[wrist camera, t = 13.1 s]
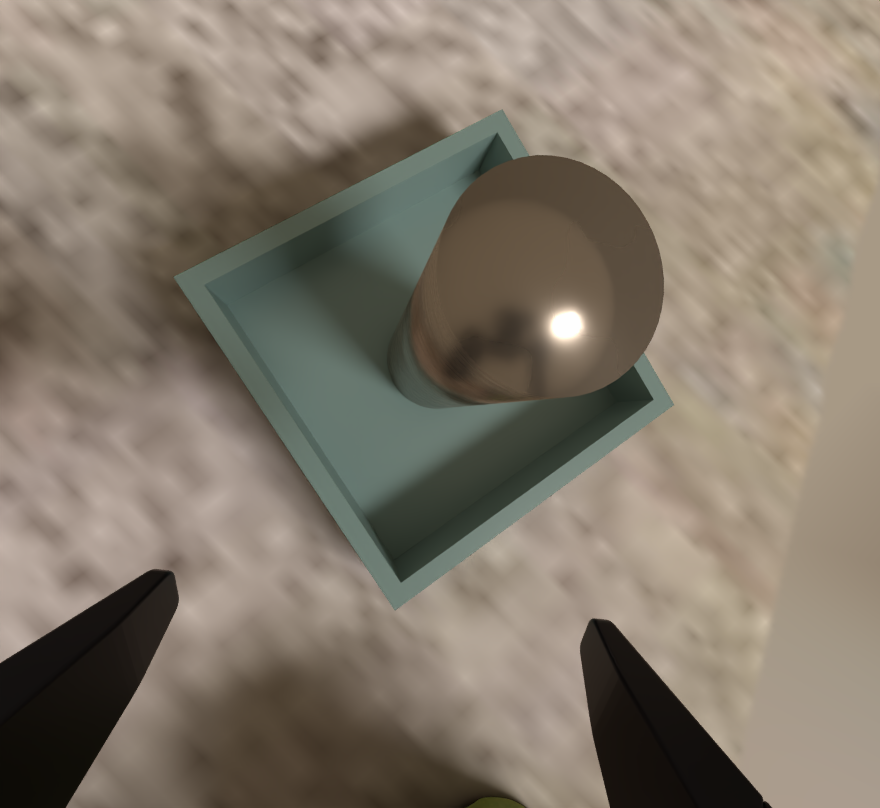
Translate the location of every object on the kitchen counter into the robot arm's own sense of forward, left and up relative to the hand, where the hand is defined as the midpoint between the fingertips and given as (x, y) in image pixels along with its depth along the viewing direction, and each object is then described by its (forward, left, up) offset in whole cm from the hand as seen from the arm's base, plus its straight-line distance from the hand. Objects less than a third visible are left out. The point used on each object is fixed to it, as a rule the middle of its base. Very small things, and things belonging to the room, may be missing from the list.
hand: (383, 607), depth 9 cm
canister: (+7, +4, -12) cm, 14 cm away
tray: (+7, +4, -12) cm, 15 cm away
